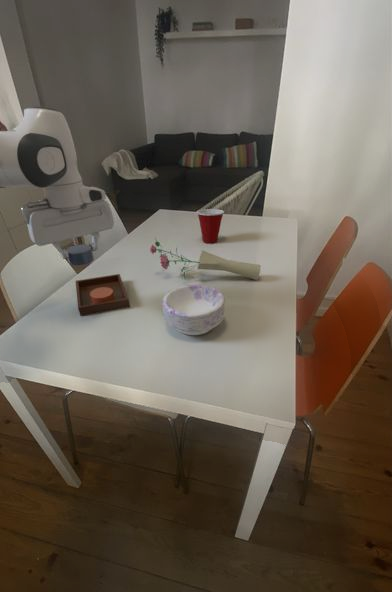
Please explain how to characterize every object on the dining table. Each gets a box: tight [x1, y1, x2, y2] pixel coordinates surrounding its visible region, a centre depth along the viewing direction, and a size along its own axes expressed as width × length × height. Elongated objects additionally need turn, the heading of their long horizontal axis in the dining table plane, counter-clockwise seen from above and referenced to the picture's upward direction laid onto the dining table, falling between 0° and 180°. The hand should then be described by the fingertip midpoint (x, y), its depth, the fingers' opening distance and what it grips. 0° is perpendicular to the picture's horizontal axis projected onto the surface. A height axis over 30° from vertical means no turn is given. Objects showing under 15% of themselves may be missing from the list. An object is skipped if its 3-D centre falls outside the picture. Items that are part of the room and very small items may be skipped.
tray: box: [75, 273, 131, 317], centre depth 94 cm, size 18×14×3 cm
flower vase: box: [149, 237, 262, 281], centre depth 102 cm, size 12×12×35 cm
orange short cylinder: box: [90, 287, 115, 304], centre depth 91 cm, size 6×6×3 cm
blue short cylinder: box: [65, 244, 95, 266], centre depth 82 cm, size 6×6×3 cm
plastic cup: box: [196, 208, 225, 245], centre depth 127 cm, size 11×11×12 cm
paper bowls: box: [162, 284, 226, 336], centre depth 80 cm, size 15×15×8 cm
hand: (80, 253), depth 82 cm, fingers closed on blue short cylinder, 6 cm apart
